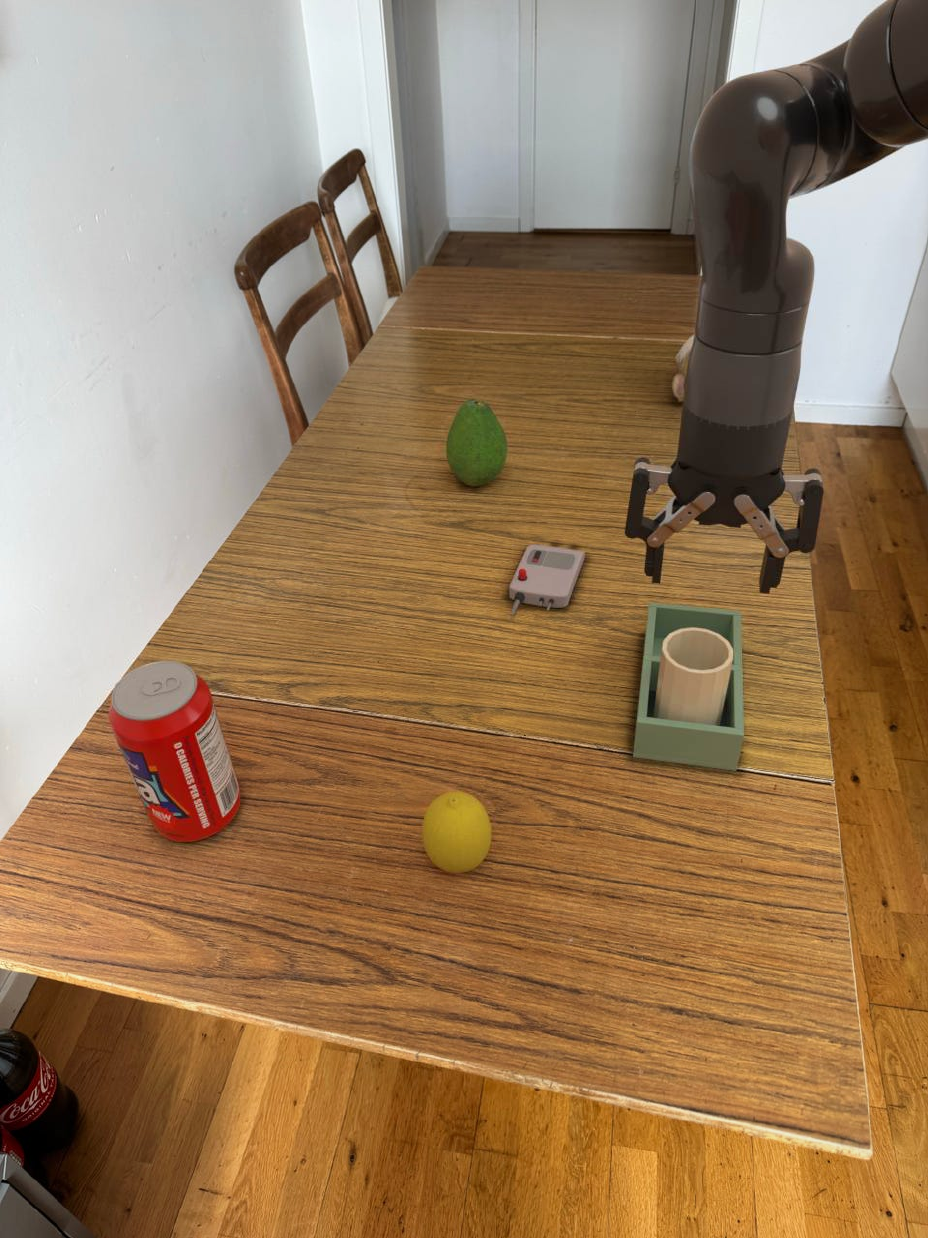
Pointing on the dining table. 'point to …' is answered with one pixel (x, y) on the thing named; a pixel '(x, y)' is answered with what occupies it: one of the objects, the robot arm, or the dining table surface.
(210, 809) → the soda can
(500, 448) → the fruit
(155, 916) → the dining table surface
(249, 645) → the dining table surface
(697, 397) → the robot arm
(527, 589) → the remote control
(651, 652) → the holder
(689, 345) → the ceramic sculpture
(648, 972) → the dining table surface
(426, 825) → the lemon
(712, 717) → the cup
